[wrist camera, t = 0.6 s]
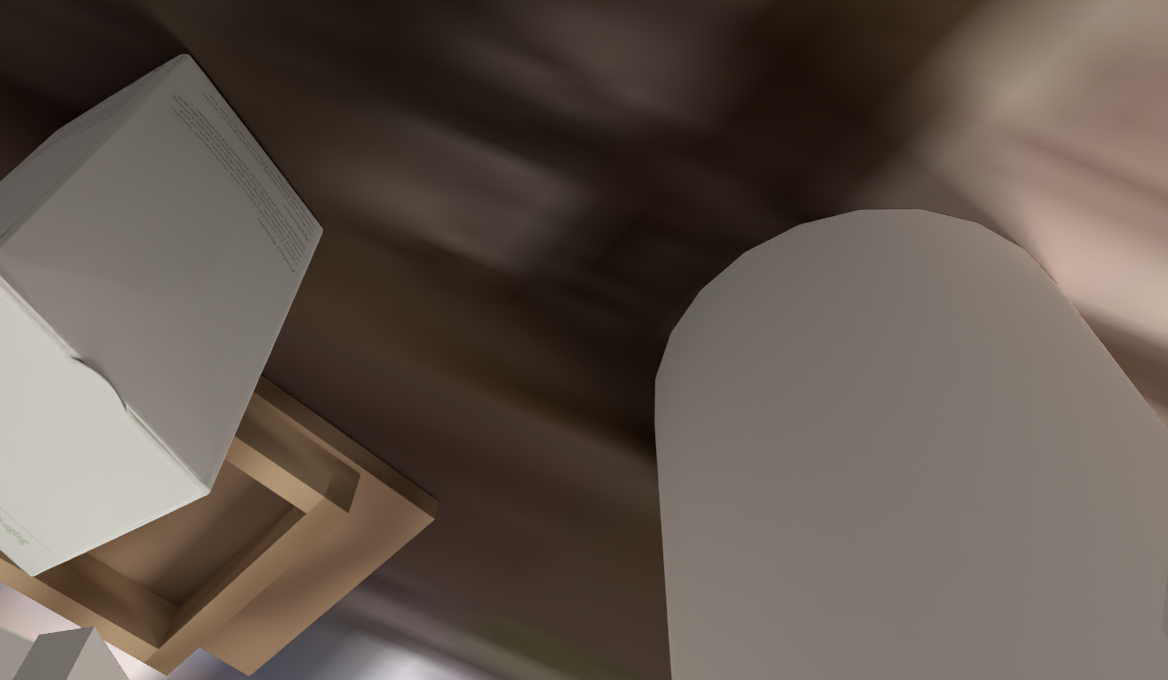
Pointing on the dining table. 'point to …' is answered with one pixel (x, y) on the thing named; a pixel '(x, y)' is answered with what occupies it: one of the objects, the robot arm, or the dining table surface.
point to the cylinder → (905, 468)
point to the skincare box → (135, 310)
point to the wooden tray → (243, 546)
